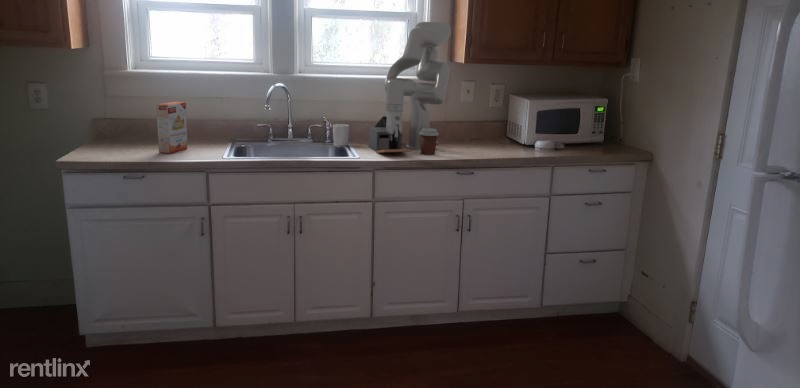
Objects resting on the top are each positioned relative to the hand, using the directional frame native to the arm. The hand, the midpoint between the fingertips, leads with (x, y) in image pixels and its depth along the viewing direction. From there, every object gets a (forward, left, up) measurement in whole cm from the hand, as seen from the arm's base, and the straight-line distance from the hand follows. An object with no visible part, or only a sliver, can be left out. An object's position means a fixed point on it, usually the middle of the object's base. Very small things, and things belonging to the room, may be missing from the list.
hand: (392, 149), depth 267 cm
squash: (-8, -33, -4) cm, 34 cm away
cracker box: (+92, -25, -4) cm, 96 cm away
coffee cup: (-19, -4, -4) cm, 19 cm away
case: (-2, -17, -4) cm, 18 cm away
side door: (-2, -9, -3) cm, 10 cm away
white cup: (+16, -32, -4) cm, 37 cm away
